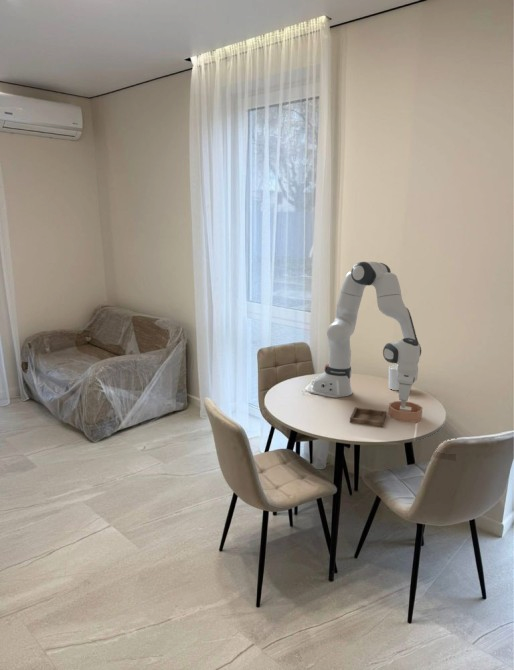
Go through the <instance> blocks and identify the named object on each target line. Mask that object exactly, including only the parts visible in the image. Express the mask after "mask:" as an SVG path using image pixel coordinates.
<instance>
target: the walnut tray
mask: <svg viewBox="0 0 514 670" xmlns="http://www.w3.org/2000/svg"><path fill="white" fill-rule="evenodd" d="M386 417H387V411H385V410H378V409H372V408H364V407H354V409H353V411H352V414H351V415H350V417H349V423H351V424H359V425H364V426H371V427H377V428H383V427H384V424H385V420H386Z"/></svg>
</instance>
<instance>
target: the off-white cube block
mask: <svg viewBox="0 0 514 670" xmlns="http://www.w3.org/2000/svg"><path fill="white" fill-rule="evenodd" d="M411 408H412V407H407V406H405V408H402V407H401V406H400V411H402V412H411Z"/></svg>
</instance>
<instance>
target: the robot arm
mask: <svg viewBox="0 0 514 670" xmlns="http://www.w3.org/2000/svg"><path fill="white" fill-rule="evenodd" d="M367 286H373V287H374V288H375V293H376V303H377V307H378V310H379V311H380V312H381V313H382V314H383V315H385V316H387V317H390V318H391V319H395V321H397V322H398V323H399V325H400V330H401V333H402V335H403V336H402V337H403V338H402V339H401V340H397V341H392V342H388V343H386V344H385V345H384V346H383V349H382V355H383V358H384V360H385V361H386V362H388V363H391V364H396V365H398V369H397V379H398V383H399V391H398V398H399V400H398V401H401V407H402V408H405V406H406V402H409V397H410V393H411V389H412V386H413V384H414V383H415V382H416V381H417V380H418V374H419V362H420V358H421V356H422V355H421V354H422V347H421V344H420V343H419V341H418V338H417V335H416V334H417V333H416V329H415V326H414V322H413V319H412V315H411V312H410V310H409V308H408V307H407V306H406V305H405V303H404V301H403V297H402V296H403V295H402V292H401V291H402V290H401V286H400V281H399V279H398V276H397V275H396V274H395V273H393V272H392V271H391V269H390V267H389V266H388V265H387V264H385V263H384V262H383V263H382V262H378V261H359V262H357V263H356V264H354V265H353V267H352V268H351V271H349V272H347V273H346V275H345V277H344V279H343V282H342V284H341V288H340V291H339V294H338V298H337V302H336V310H335V317H334V320H333V322H332V323H330V324H329V326H328V328H327V330H326V334H327V343H328V349H329V350H328V351H329V352H328V353H329V356H328V363H326V364H325V366H324V372H322V373H320V374H319V375H317V376H316V377H315V378H314V379H313V382H312V383H313V384H312V385H313V388H312V390H309V389H311V388H310V386H309V387H308V390H309V391H308V392H309V393H310V394H315V395H318V396H319V395H320V396H324V397H329V398H334V399H336V398H342V397H348V396H351V395H352V393H353V390H352V386H351V376H352V366H351V365H352V364H351V360H352V359H351V358H352V350H351V336H352V335H353V334H354V333H355V329H356V324H357V319H358V313H359V308H360V305H361V302H362V298H363V294H364V292H365V288H366V287H367Z"/></svg>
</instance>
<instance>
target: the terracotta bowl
mask: <svg viewBox="0 0 514 670" xmlns="http://www.w3.org/2000/svg"><path fill="white" fill-rule="evenodd" d="M400 406H401V400H397V401H396V400H395V401H392V402H389V403H388V409H387V410H388V411H387V415H388V416H389V417H390V418H391V419H395V420H397V421H401V422H415V424H418V423H420V422H422V417H423V406H421V405H420V404H419V403H416V402H412V401H406V406H407V407H412V408H411V412H402V411H400Z"/></svg>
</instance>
